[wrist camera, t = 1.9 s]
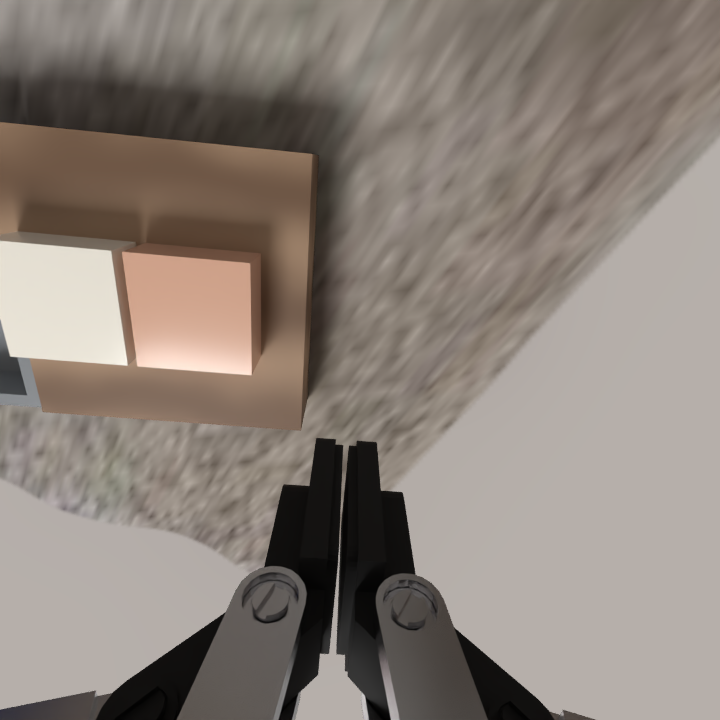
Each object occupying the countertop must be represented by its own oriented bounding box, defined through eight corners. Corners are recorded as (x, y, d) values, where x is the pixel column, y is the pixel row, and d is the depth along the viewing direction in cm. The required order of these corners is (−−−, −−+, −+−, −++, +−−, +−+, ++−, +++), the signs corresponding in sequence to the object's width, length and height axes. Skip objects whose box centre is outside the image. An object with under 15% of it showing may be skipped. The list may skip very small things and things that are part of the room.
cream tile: (17, 231, 22) (-22, 239, 20) (135, 241, 22) (111, 250, 20) (42, 338, 25) (10, 356, 22) (148, 347, 25) (127, 365, 23)
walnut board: (29, 126, 24) (-31, 119, 20) (318, 155, 24) (312, 153, 21) (80, 382, 30) (42, 411, 27) (307, 399, 31) (300, 430, 27)
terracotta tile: (145, 242, 22) (121, 251, 20) (260, 253, 23) (250, 263, 20) (157, 347, 25) (137, 366, 23) (261, 356, 25) (251, 375, 23)
